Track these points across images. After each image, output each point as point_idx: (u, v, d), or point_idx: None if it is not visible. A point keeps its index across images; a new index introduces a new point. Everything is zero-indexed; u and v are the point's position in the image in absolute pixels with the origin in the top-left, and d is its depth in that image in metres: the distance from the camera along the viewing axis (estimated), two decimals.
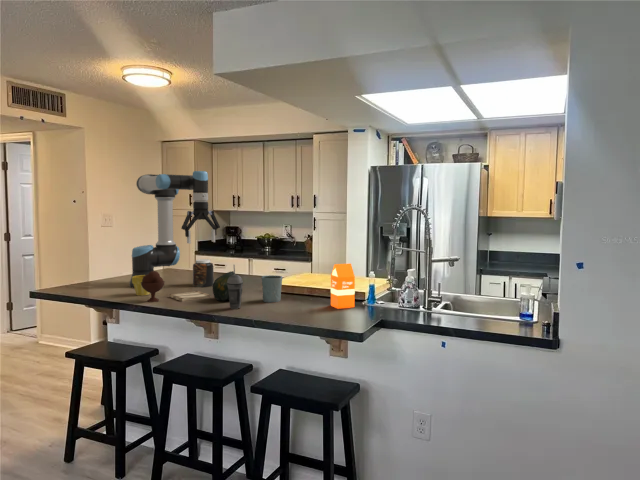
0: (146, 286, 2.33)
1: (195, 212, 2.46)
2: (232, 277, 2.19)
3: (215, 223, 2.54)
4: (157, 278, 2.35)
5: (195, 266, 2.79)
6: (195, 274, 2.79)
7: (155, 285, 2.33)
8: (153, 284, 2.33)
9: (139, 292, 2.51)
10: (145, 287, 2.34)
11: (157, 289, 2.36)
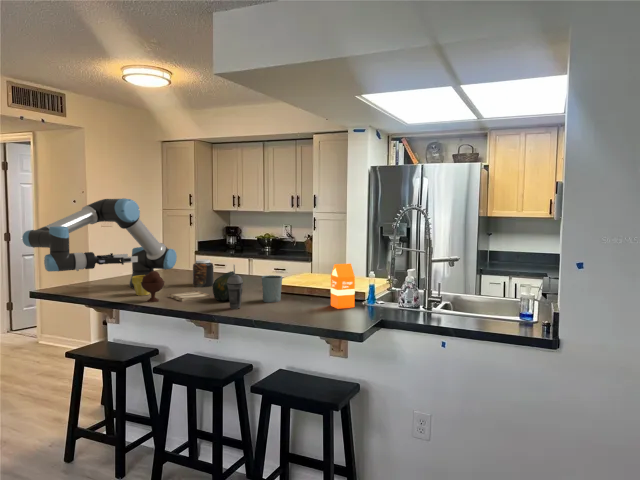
0: (146, 286, 2.33)
1: None
2: (232, 277, 2.19)
3: None
4: (157, 278, 2.35)
5: (195, 266, 2.79)
6: (195, 274, 2.79)
7: (155, 285, 2.33)
8: (153, 284, 2.33)
9: (139, 292, 2.51)
10: (145, 287, 2.34)
11: (157, 289, 2.36)
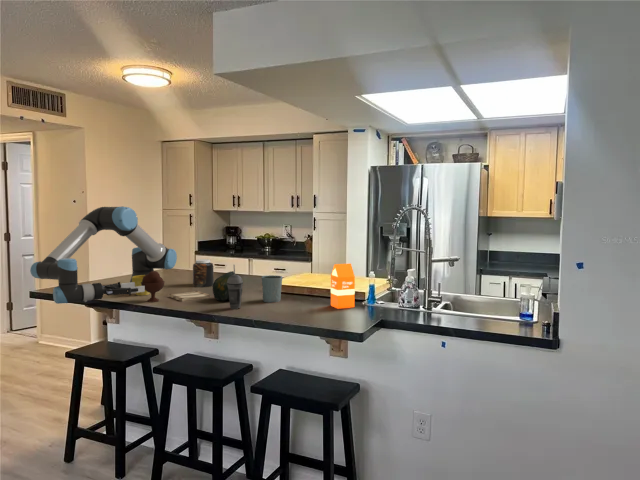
0: (146, 286, 2.33)
1: None
2: (232, 277, 2.19)
3: None
4: (157, 278, 2.35)
5: (195, 266, 2.79)
6: (195, 274, 2.79)
7: (155, 285, 2.33)
8: (153, 284, 2.33)
9: (139, 292, 2.51)
10: (145, 287, 2.34)
11: (157, 289, 2.36)
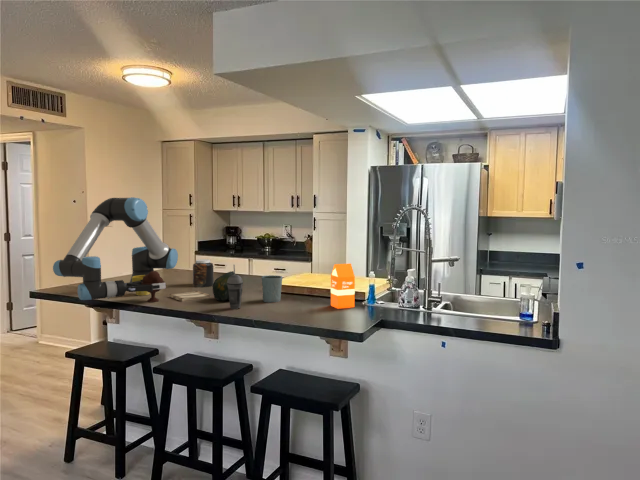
0: None
1: None
2: (232, 277, 2.19)
3: None
4: (157, 278, 2.35)
5: (195, 266, 2.79)
6: (195, 274, 2.79)
7: None
8: None
9: (139, 292, 2.51)
10: None
11: (157, 289, 2.36)
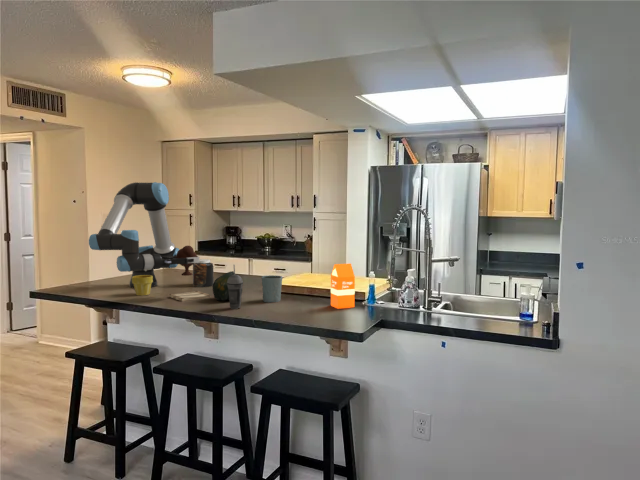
0: None
1: None
2: (232, 277, 2.19)
3: None
4: (191, 252, 2.43)
5: (195, 266, 2.79)
6: (195, 274, 2.79)
7: None
8: None
9: (139, 292, 2.51)
10: None
11: (191, 263, 2.43)
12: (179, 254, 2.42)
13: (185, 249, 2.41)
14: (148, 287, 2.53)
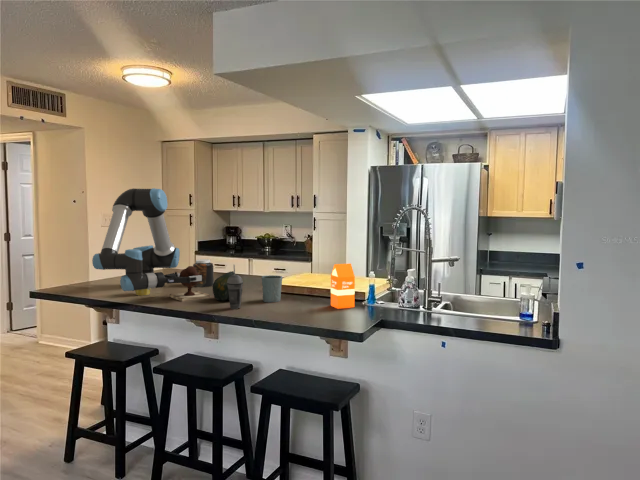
0: None
1: None
2: (232, 277, 2.19)
3: None
4: (194, 273, 2.44)
5: (195, 266, 2.79)
6: None
7: None
8: None
9: (139, 292, 2.51)
10: None
11: (194, 284, 2.45)
12: (182, 275, 2.43)
13: (188, 270, 2.43)
14: None
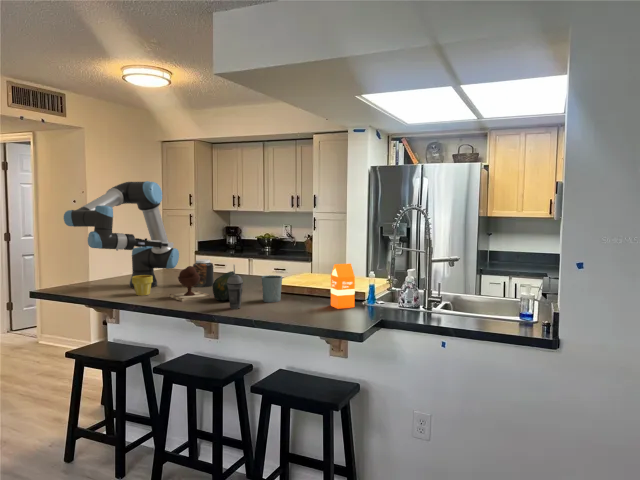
0: (183, 280, 2.43)
1: None
2: (232, 277, 2.19)
3: None
4: (194, 273, 2.45)
5: (195, 266, 2.79)
6: None
7: (192, 279, 2.43)
8: (190, 279, 2.42)
9: (139, 292, 2.51)
10: (182, 281, 2.43)
11: (194, 283, 2.45)
12: (182, 275, 2.44)
13: (188, 270, 2.43)
14: (148, 287, 2.53)
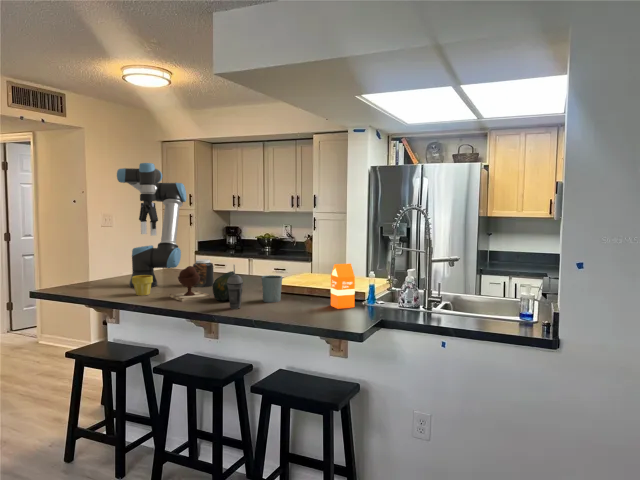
0: (183, 280, 2.43)
1: (143, 204, 2.51)
2: (232, 277, 2.19)
3: None
4: (194, 273, 2.45)
5: (195, 266, 2.79)
6: None
7: (192, 279, 2.43)
8: (190, 278, 2.42)
9: (139, 292, 2.51)
10: (182, 281, 2.43)
11: (194, 283, 2.45)
12: (182, 275, 2.44)
13: (188, 270, 2.43)
14: (148, 287, 2.53)
